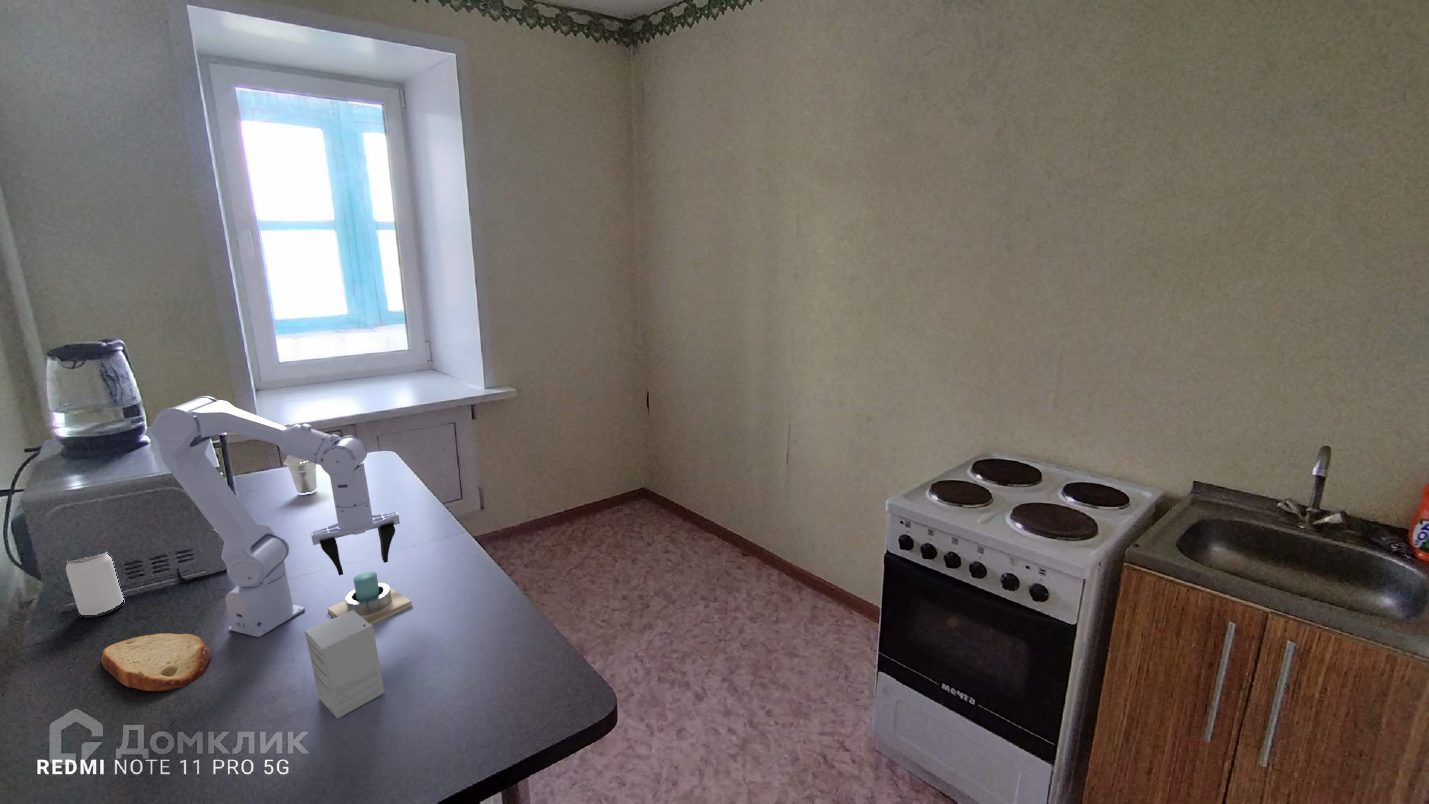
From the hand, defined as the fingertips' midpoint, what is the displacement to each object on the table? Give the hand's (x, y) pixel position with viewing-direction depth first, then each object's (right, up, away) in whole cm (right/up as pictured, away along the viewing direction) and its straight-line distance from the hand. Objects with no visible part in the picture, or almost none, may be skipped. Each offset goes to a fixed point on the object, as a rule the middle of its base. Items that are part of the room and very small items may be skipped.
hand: (363, 566), depth 120 cm
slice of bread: (-29, -14, -13) cm, 35 cm away
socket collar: (0, -9, +2) cm, 9 cm away
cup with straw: (-50, +5, +60) cm, 78 cm away
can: (-53, -10, +3) cm, 54 cm away
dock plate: (0, -9, +2) cm, 9 cm away
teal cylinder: (0, -8, +2) cm, 8 cm away
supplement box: (+10, -15, -21) cm, 28 cm away
